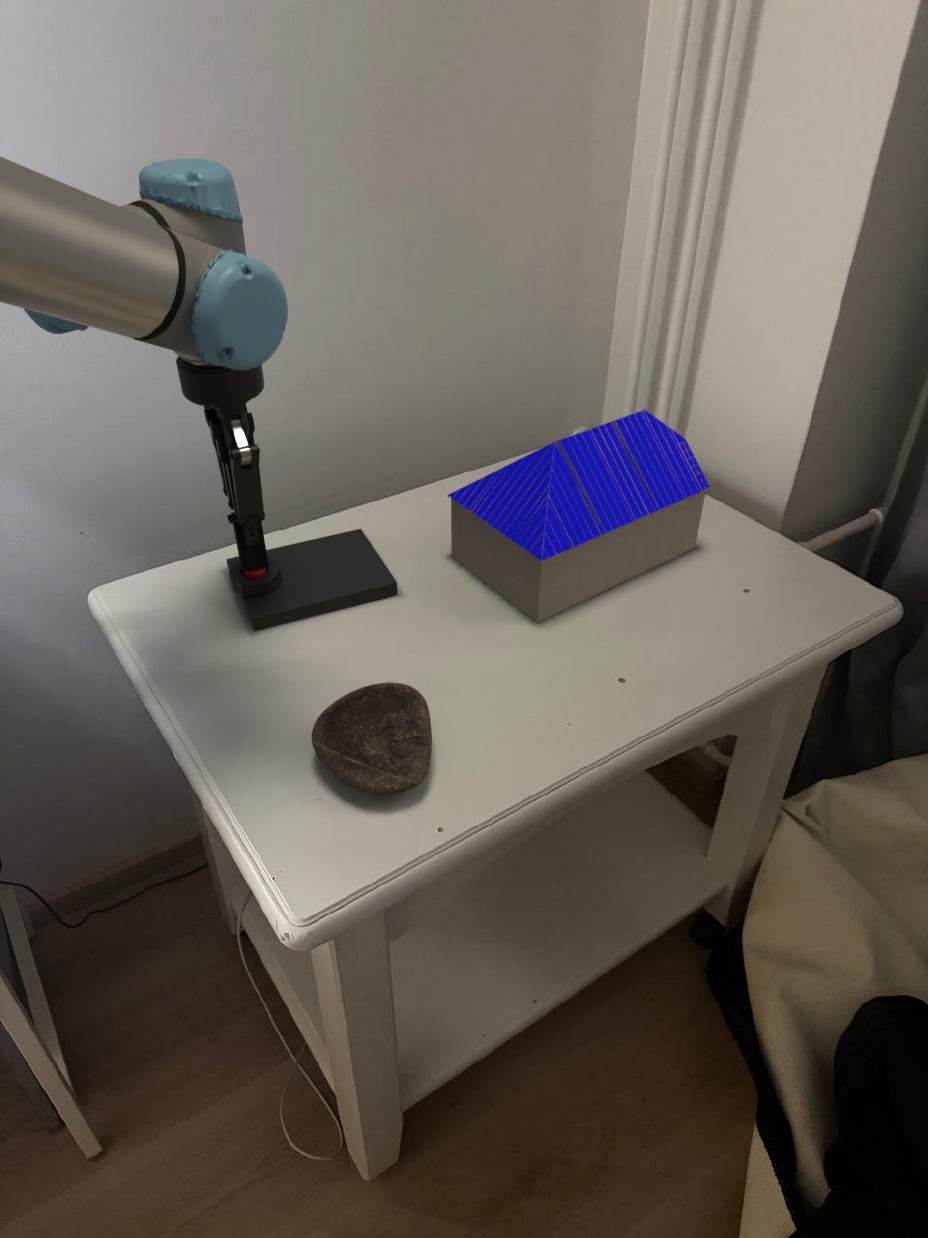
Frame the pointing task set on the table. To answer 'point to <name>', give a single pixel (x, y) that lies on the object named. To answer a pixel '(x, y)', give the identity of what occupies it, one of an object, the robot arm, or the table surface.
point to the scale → (313, 579)
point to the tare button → (255, 573)
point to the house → (580, 514)
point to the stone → (376, 738)
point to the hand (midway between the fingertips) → (254, 565)
